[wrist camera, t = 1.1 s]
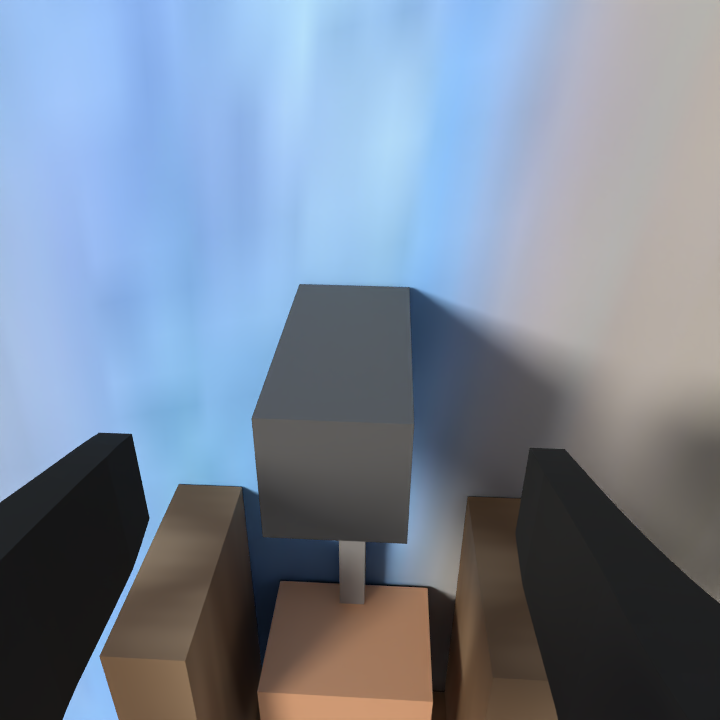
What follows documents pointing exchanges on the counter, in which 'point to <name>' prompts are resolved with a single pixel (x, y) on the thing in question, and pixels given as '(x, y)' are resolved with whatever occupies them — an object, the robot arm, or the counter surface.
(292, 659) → the grey and tan dumbbell
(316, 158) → the counter surface
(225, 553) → the brown wooden u-shaped piece
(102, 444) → the robot arm
